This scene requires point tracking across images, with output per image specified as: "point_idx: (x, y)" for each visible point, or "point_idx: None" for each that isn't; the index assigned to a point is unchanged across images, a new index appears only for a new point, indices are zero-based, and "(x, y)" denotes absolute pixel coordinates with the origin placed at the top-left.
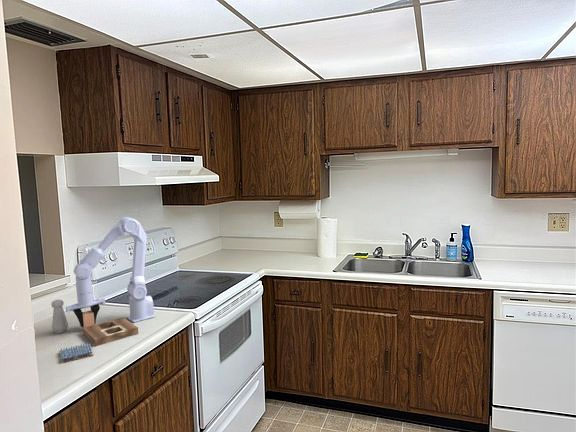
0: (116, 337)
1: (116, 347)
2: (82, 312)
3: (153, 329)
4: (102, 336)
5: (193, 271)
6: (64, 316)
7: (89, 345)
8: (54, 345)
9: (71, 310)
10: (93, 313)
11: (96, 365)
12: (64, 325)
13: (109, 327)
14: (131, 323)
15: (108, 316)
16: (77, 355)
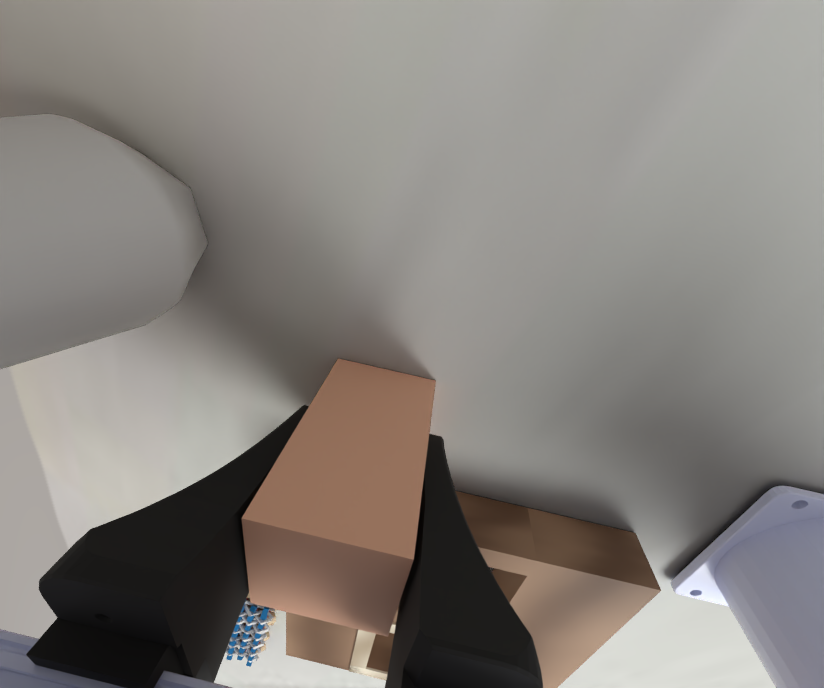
0: None
1: None
2: (214, 674)
3: (606, 685)
4: (331, 658)
5: None
6: (10, 355)
7: (262, 627)
8: (110, 455)
9: (5, 662)
10: (388, 624)
11: (251, 679)
12: (126, 329)
13: None
14: (563, 676)
15: (803, 235)
16: None
